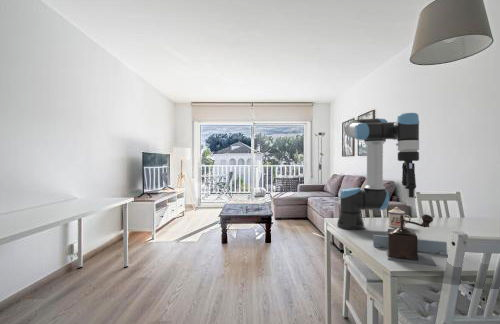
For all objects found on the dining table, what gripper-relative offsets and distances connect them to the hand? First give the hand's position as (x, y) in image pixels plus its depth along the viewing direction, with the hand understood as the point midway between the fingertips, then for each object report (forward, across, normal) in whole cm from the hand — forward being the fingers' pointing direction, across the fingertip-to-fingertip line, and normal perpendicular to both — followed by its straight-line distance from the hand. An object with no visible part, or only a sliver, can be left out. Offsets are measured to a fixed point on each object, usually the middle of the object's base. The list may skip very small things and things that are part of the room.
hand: (408, 203), depth 108 cm
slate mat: (+22, 0, 0) cm, 22 cm away
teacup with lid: (+23, -57, +2) cm, 61 cm away
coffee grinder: (+22, 0, 0) cm, 22 cm away
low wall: (+22, -11, +1) cm, 25 cm away
